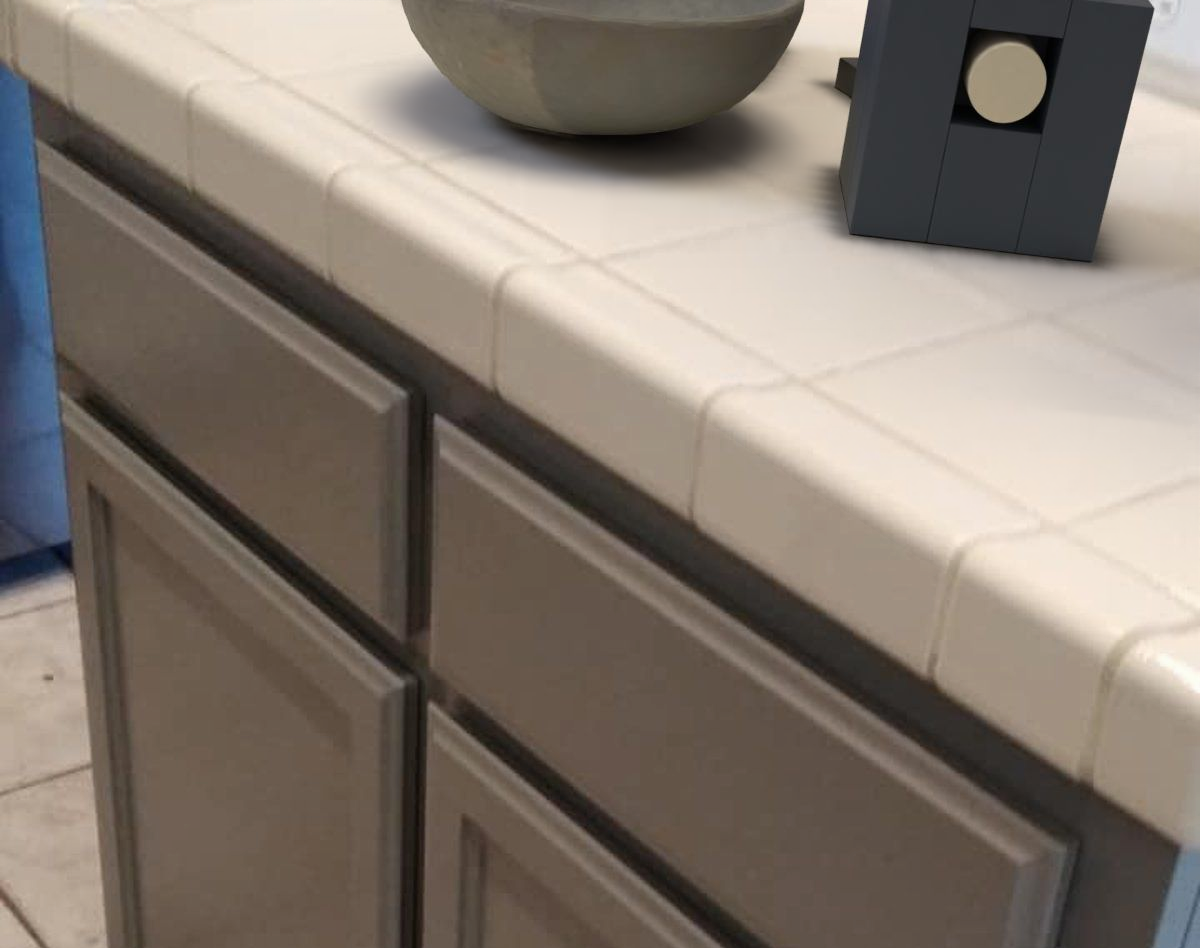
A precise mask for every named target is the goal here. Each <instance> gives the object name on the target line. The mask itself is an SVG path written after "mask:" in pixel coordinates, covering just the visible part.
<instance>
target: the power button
mask: <svg viewBox="0 0 1200 948" xmlns="http://www.w3.org/2000/svg"><path fill="white" fill-rule="evenodd" d="M960 72H961V77H962V80H963V82H964V85H965V88H966V90H967V93H968V95H969V98H970V100H971V103H972V105H973V107H974V108H975V109H976V111H977V112H978V113H979V114H980V115H981V116H983V117H984V118H986V119H988V120H990V121H993V122H998V123H1009V122H1014V121H1017V120H1020V119H1022V118H1024V117H1025V116H1027V115H1028V114H1029V113H1031V112H1032V111H1033V110H1034V109H1035V108H1036V107H1037V105H1038V104H1039V102H1040V101H1041V99H1042V97H1043V94H1044V92H1045V88H1046V71H1045V68H1044V65H1043V63H1042V61H1041V59H1040V57H1039V55H1038V53H1037V51H1036V49H1035V47H1034V45H1033V43H1032V42H1031V40H1030V38H1029V37H1028V36H1027V35H1026V34H1022V33H1013V32H1005V31H996V30H988V29H982V30H981V31H979V32H978V33H976V34H975V35H974V36H973V37H972V38H971V39H970V40H969V42H968V43H967V45H966V47H965V51H964V56H963V61H962V66H961V71H960Z"/></svg>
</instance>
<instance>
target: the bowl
mask: <svg viewBox="0 0 1200 948" xmlns="http://www.w3.org/2000/svg"><path fill="white" fill-rule="evenodd" d="M400 1H401V7H402V9H403V13H404V15H405V16H406V20H407V22H408V25H409V27H410V31H411V32H412V34H413V35H414V37H415V38H416V40H417V42H418V43H419V45H420V46H421V48H422V49H423V51H425V53H426V54H427V55H428V56H429V58H430V60H431V61H432V62H433V64H434V66H435V67H436V68H437V70H438V71H439V72H440V74H442V75H443V76H444V77H445V78H446V79H447V80H448V81H449V82H450V83H451V84H452V85H453V86H454V87H455V88H456V89H458V91H460V92H461V93H462V94H463V95H465V96H466V97H467V98H469V99H470V100H471V101H472V102H474V103H475V104H476V105H478V106H480V107H482V108H483V109H486V110H487V111H489V112H491V113H492V114H494V115H496V116H498V117H500V118H502V119H504V120H507V121H509V122H511V123H515V124H519V125H523V126H527V127H530V128H535V129H539V130H545V131H551V132H558V133H562V134H572V135H578V136H580V135H581V136H631V135H632V136H633V135H644V134H645V135H646V134H653V133H661V132H669V131H674V130H679V129H682V128H686V127H690V126H693V125H695V124H699V123H701V122H704V121H707V120H708V119H711V118H714V117H715V116H717V115H720V114H723V112H726V111H728V110H730V109H731V108H733V107H734V106H736V105H738V104H739V103H740V102H742V101H744V100H745V99H746V98H747V97H748V96H750V95H751V94H752V93H753V92H754V91H755V90H756V89H757V88H758V87H759V86H760V85H761V84H762V83H763V82H764V81H765V80H766V79H767V78H768V76H769V75H770V74H771V73H772V71H773V70H774V69H775V68H776V66H777V65H778V63H779V61H780V60H781V58H782V57H783V55H784V54H785V52H786V51H787V49H788V47H789V45H790V44H791V42H792V40H793V38H794V35H795V33H796V31H797V29H798V27H799V24H800V22H801V19H802V17H803V14H804V11H805V3H806V0H400Z"/></svg>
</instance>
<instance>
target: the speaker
mask: <svg viewBox="0 0 1200 948" xmlns="http://www.w3.org/2000/svg"><path fill="white" fill-rule="evenodd" d="M1155 9H1156V8H1155V7H1154V5H1153V4H1152V3H1151V1H1150V0H867V6H866V11H865V16H864V23H863V28H862V35H861V42H860V46H859V52H858V57H859V58H858V63H857V69H856V75H855V81H854V87H853V93H852V97H851V99H850V105H849V111H848V116H847V122H846V129H845V134H844V140H843V146H842V152H841V158H840V163H839V169H838V174H839V180H840V186H841V191H842V196H843V202H844V209H845V213H846V218H847V225H848V230H849V234H851V235H858V236H859V235H861V236H867V237H868V236H869V237H877V238H885V239H894V240H903V241H911V242H919V243H920V242H921V243H928V244H935V245H944V246H952V247H953V246H954V247H962V248H971V249H979V250H980V249H981V250H988V251H996V252H1005V253H1016V254H1022V255H1030V256H1031V255H1032V256H1040V257H1047V258H1048V257H1049V258H1057V259H1066V260H1073V261H1083V262H1093V260H1094V259H1093V258H1094V254H1095V251H1096V246H1097V243H1098V239H1099V234H1100V230H1101V227H1102V222H1103V218H1104V214H1105V210H1106V206H1107V202H1108V198H1109V194H1110V190H1111V186H1112V181H1113V178H1114V174H1115V170H1116V167H1117V162H1118V157H1119V154H1120V150H1121V146H1122V141H1123V138H1124V134H1125V131H1126V126H1127V123H1128V118H1129V114H1130V109H1131V105H1132V102H1133V98H1134V93H1135V89H1136V86H1137V82H1138V77H1139V73H1140V69H1141V65H1142V61H1143V58H1144V54H1145V50H1146V45H1147V41H1148V38H1149V33H1150V30H1151V25H1152V21H1153V18H1154V13H1155ZM982 29H988V30H996V31H1005V32H1013V33H1022V34H1026V35H1027V36H1028V37H1029V38H1030V40H1031V42H1032V43H1033V45H1034V47H1035V49H1036V51H1037V53H1038V55H1039V57H1040V59H1041V61H1042V63H1043V65H1044V68H1045V71H1046V88H1045V92H1044V94H1043V97H1042V99H1041V101H1040V102H1039V104H1038V105H1037V107H1036V108H1035V109H1034V110H1033V111H1032V112H1031V113H1029V114H1028V115H1027V116H1025V117H1024V118H1022V119H1020V120H1017V121H1014V122H1009V123H998V122H993V121H990V120H988V119H986V118H984V117H983V116H981V115H980V114H979V113H978V112H977V111H976V109H975V108H974V107H973V105H972V103H971V100H970V98H969V95H968V93H967V90H966V88H965V85H964V82H963V80H962V77H961V72H960V71H961V66H962V61H963V56H964V51H965V47H966V45H967V43H968V42H969V40H970V39H971V38H972V37H973V36H974V35H975V34H976V33H978V32H979V31H981V30H982Z"/></svg>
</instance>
